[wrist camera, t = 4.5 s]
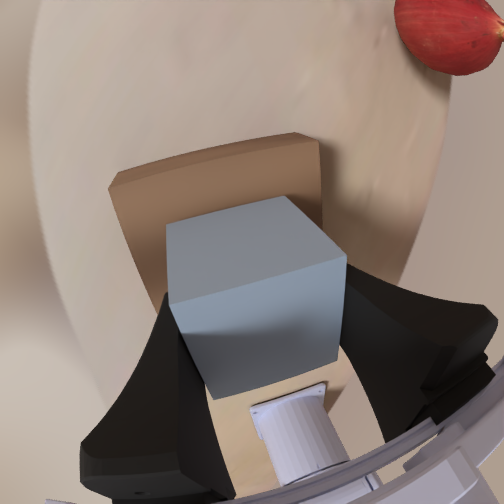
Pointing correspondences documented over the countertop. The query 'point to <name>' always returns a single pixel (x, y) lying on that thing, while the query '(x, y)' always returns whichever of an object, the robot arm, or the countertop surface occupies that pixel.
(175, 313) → the cube
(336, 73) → the countertop surface
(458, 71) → the onion
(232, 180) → the base
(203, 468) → the robot arm
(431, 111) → the countertop surface
